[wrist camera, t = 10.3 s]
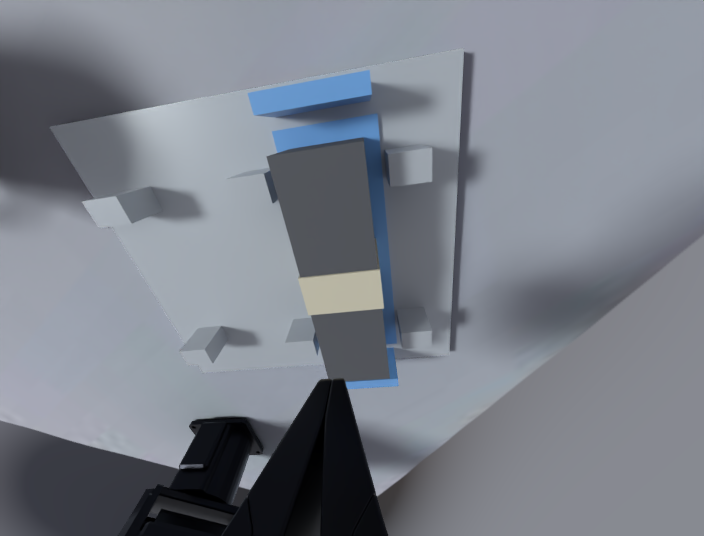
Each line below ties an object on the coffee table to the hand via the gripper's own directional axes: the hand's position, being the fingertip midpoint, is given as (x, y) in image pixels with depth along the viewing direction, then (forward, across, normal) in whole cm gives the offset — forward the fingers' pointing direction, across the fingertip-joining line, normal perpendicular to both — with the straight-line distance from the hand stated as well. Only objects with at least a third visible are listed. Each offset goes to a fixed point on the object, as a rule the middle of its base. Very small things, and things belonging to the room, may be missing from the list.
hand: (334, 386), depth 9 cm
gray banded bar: (+10, 0, 0) cm, 10 cm away
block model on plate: (+10, +4, 0) cm, 11 cm away
